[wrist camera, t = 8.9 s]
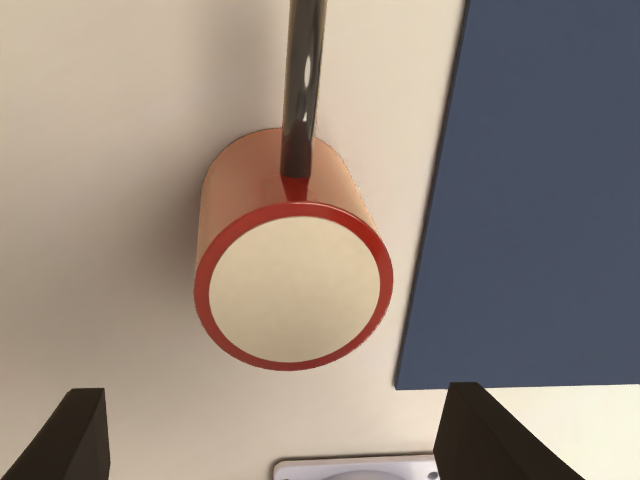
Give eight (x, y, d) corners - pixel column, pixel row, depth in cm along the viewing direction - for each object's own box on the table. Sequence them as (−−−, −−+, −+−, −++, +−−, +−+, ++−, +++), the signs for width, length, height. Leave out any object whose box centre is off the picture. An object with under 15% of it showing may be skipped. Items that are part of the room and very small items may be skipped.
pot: (344, 267, 23) (380, 371, 18) (200, 266, 22) (193, 375, 17) (383, -36, 18) (447, -17, 13) (201, -54, 18) (191, -40, 12)
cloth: (717, 378, 29) (722, 382, 29) (394, 385, 26) (395, 390, 26) (907, -2, 21) (915, -1, 21) (475, -44, 19) (478, -43, 18)
